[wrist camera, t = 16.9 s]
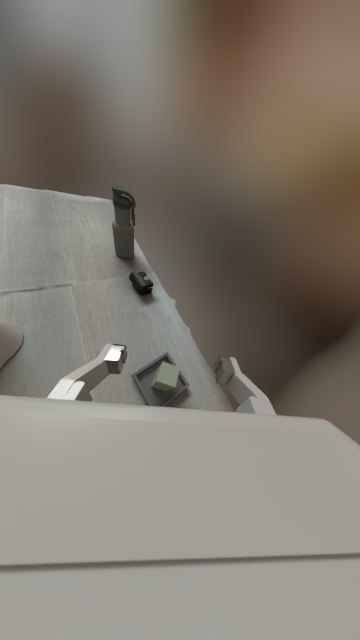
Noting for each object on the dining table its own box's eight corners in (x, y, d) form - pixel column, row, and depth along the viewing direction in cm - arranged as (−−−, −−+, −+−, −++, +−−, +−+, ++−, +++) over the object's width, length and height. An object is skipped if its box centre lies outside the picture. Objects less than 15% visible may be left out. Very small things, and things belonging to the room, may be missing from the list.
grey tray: (153, 415, 39) (155, 416, 37) (132, 376, 43) (132, 374, 41) (186, 386, 46) (189, 385, 44) (165, 354, 50) (167, 352, 48)
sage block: (165, 391, 43) (175, 387, 32) (150, 386, 42) (156, 381, 32) (169, 376, 46) (180, 367, 35) (156, 371, 45) (162, 361, 35)
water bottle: (133, 249, 79) (132, 187, 57) (135, 259, 75) (137, 197, 52) (114, 247, 75) (106, 180, 52) (116, 258, 71) (108, 190, 48)
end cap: (129, 283, 64) (128, 272, 59) (142, 280, 68) (143, 269, 62) (139, 297, 61) (139, 287, 56) (152, 293, 65) (153, 283, 59)
